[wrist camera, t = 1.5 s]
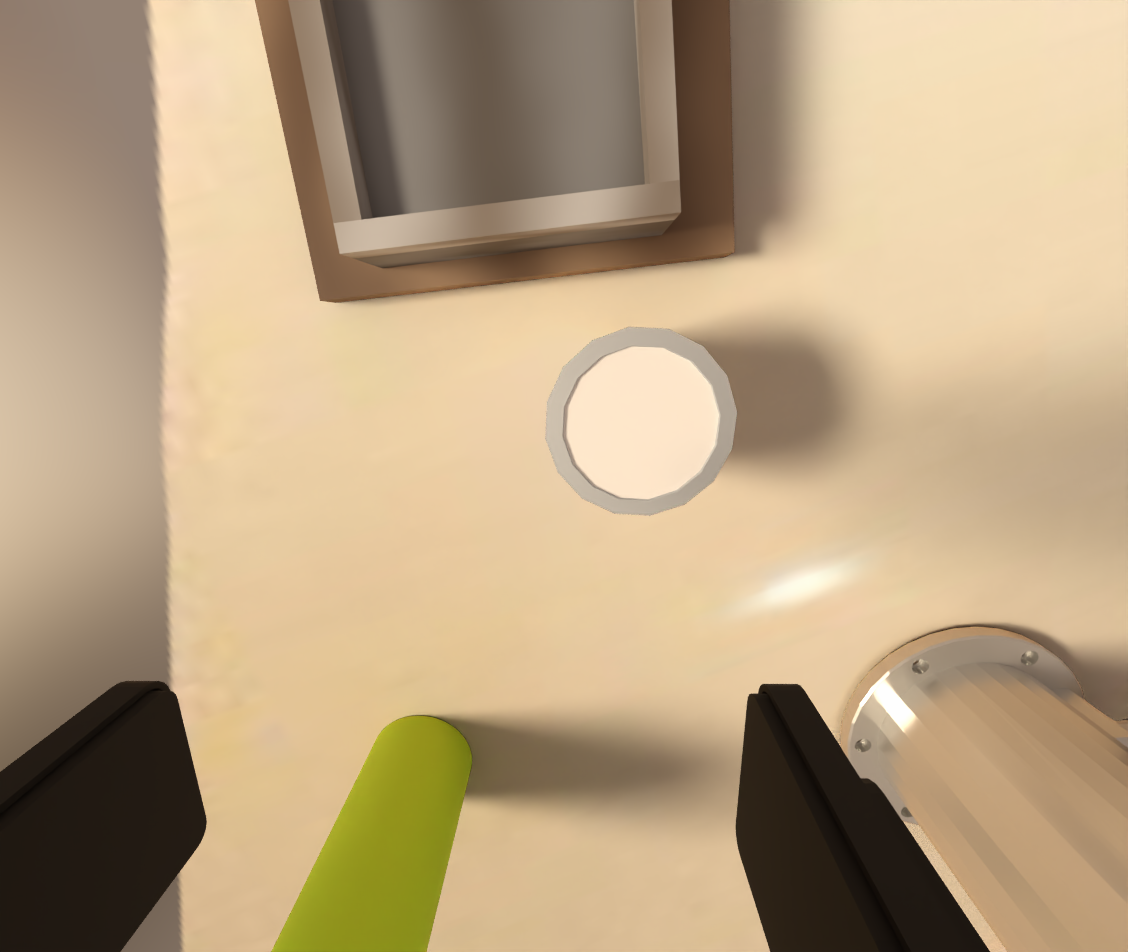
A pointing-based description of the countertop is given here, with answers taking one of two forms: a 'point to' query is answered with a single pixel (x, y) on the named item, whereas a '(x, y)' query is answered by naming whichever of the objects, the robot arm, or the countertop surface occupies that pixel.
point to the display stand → (502, 137)
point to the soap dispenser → (386, 847)
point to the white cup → (640, 421)
